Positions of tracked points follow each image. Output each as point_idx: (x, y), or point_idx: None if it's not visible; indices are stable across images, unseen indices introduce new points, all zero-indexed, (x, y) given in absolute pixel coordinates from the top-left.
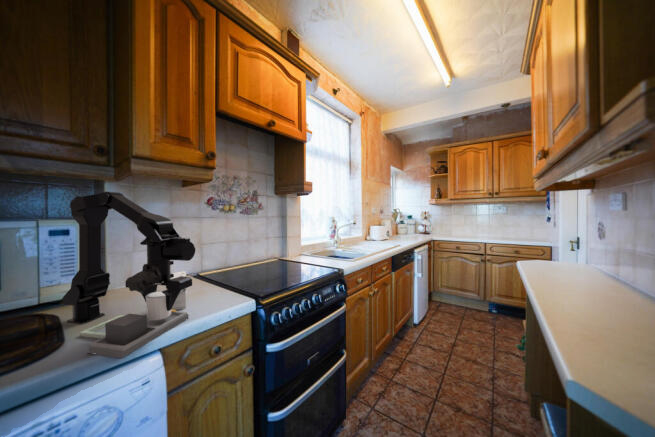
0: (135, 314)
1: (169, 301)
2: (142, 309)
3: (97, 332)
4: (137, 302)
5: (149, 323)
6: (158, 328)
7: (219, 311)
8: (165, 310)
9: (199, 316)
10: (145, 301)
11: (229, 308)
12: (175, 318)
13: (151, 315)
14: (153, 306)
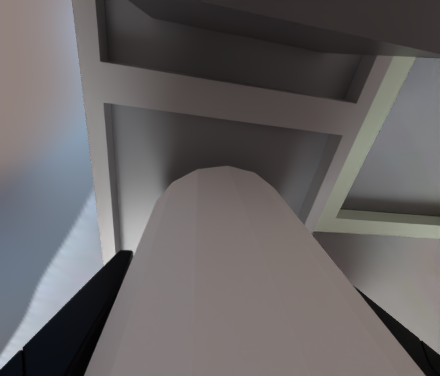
0: (349, 22)
1: (25, 353)
2: (393, 293)
3: None
4: (436, 326)
5: (255, 167)
6: (81, 64)
7: (25, 324)
8: (137, 247)
9: (80, 281)
10: (390, 315)
11: (6, 347)
12: (102, 220)
13: (233, 182)
14: (215, 244)
